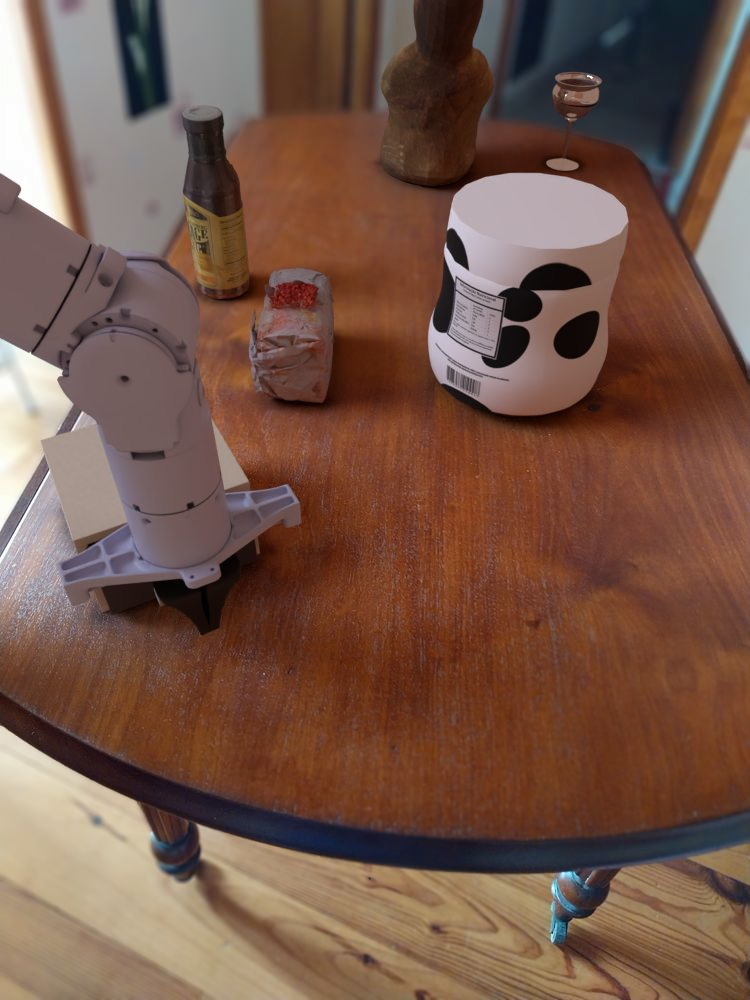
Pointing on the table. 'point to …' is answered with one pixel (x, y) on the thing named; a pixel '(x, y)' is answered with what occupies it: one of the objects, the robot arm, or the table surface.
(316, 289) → the food item
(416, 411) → the table surface
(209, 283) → the sauce bottle
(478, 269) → the milk container
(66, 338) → the robot arm
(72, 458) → the beige box-shaped shell
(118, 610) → the drawer
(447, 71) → the ceramic vessel
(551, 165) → the wineglass
